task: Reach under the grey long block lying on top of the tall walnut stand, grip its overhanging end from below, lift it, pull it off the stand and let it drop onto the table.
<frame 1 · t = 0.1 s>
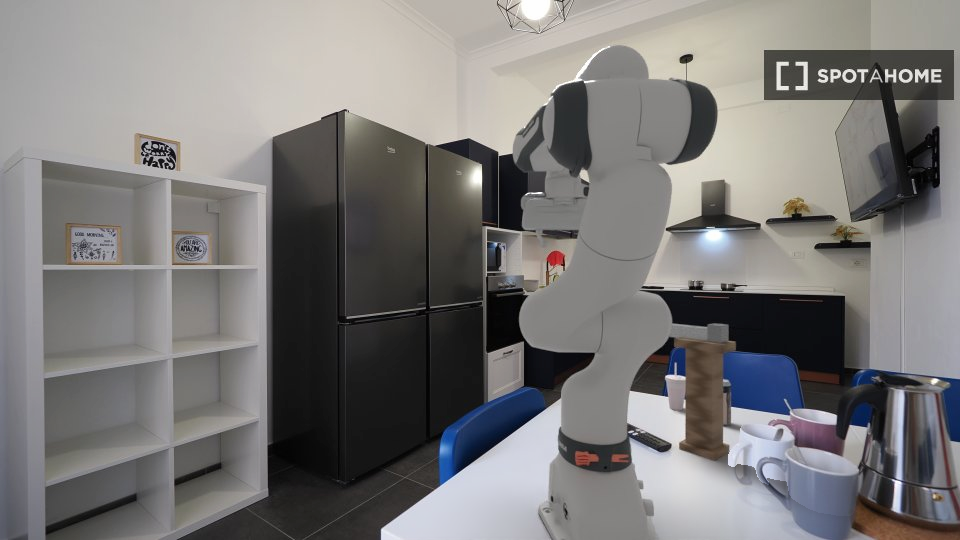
hand: (562, 248, 102), 48 cm above the table, tool pointing down, fingers open, 8 cm apart
grey long block: (685, 337, 101), point 26 cm above the table, touching walnut stand
smoothie: (676, 409, 127), on the table
walnut stand: (704, 449, 97), on the table
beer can: (721, 423, 115), on the table
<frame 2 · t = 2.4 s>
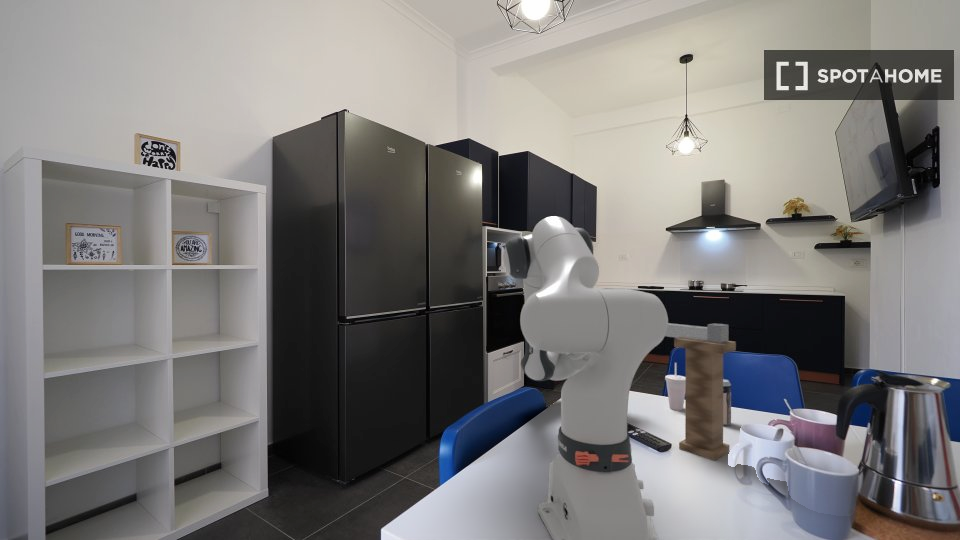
hand: (620, 335, 115), 24 cm above the table, tool pointing upward, fingers open, 8 cm apart
nothing on the table moved.
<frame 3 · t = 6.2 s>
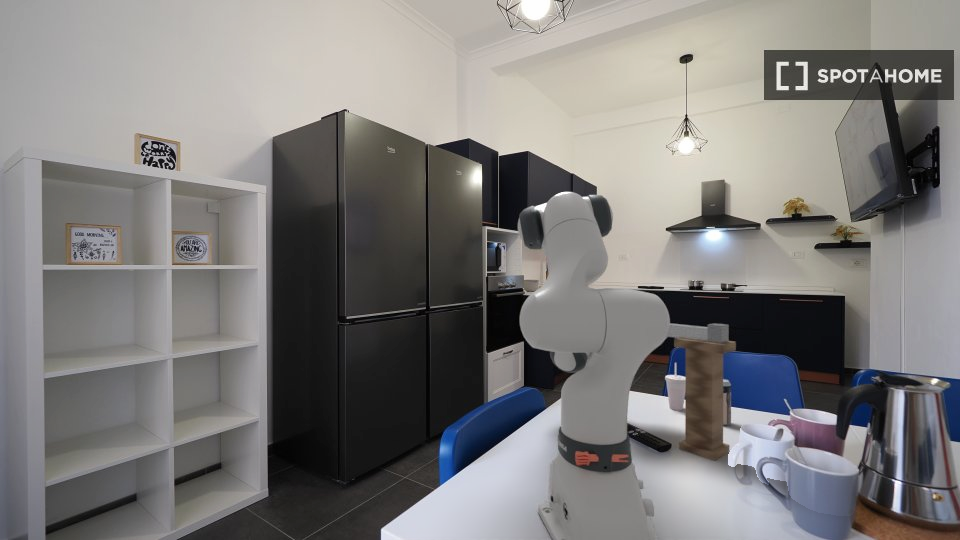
hand: (662, 327, 105), 28 cm above the table, tool pointing upward, fingers closed on grey long block, 3 cm apart
grey long block: (685, 337, 101), point 26 cm above the table, touching gripper, walnut stand
everything else where it was.
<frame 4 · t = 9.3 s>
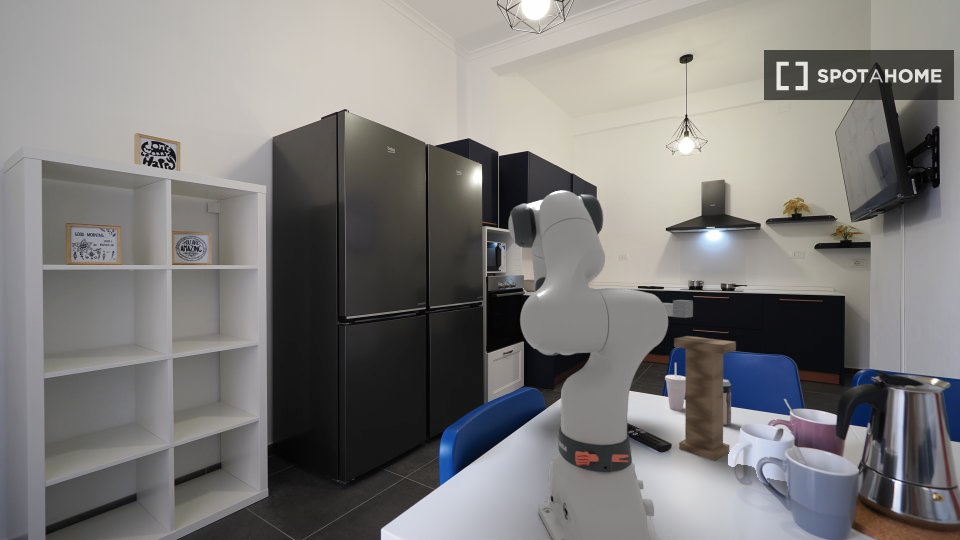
hand: (633, 305, 112), 33 cm above the table, tool pointing upward, fingers closed on grey long block, 3 cm apart
grey long block: (653, 314, 107), point 31 cm above the table, touching gripper
everything else where it was.
when the fingers open (19 cm above the table, at t = 12.5 s): grey long block drops 17 cm, on the table.
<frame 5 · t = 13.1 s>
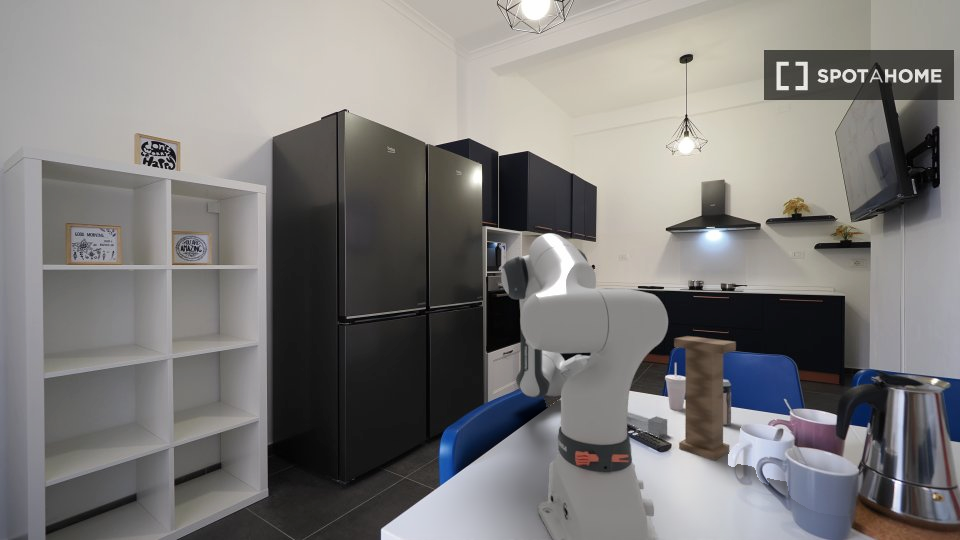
hand: (614, 353, 116), 19 cm above the table, tool pointing upward, fingers open, 8 cm apart
grey long block: (631, 426, 112), on the table
everything else where it was.
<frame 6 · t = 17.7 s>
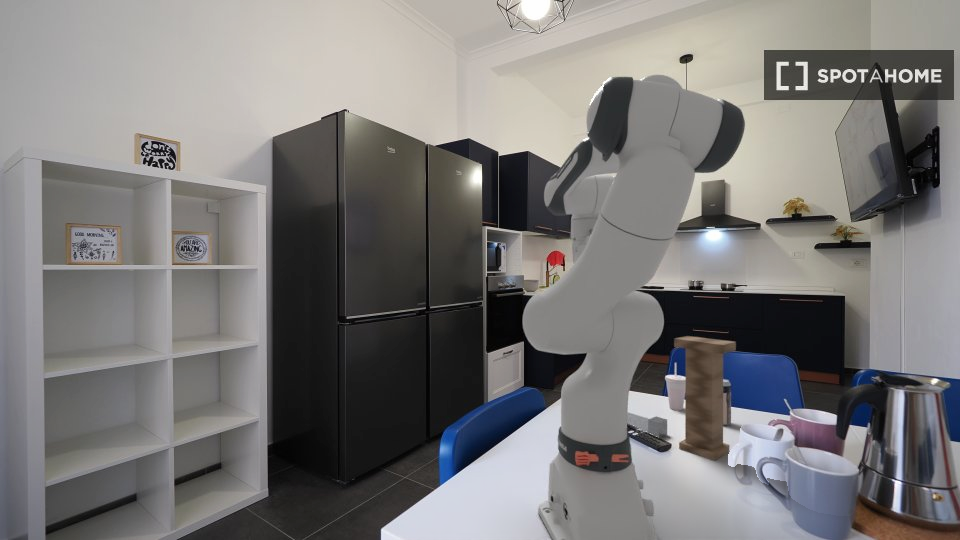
hand: (587, 283, 109), 39 cm above the table, tool pointing down, fingers open, 8 cm apart
nothing on the table moved.
at the end: the gripper is holding nothing; grey long block on the table; grey long block moved 29.9 cm from its start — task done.
